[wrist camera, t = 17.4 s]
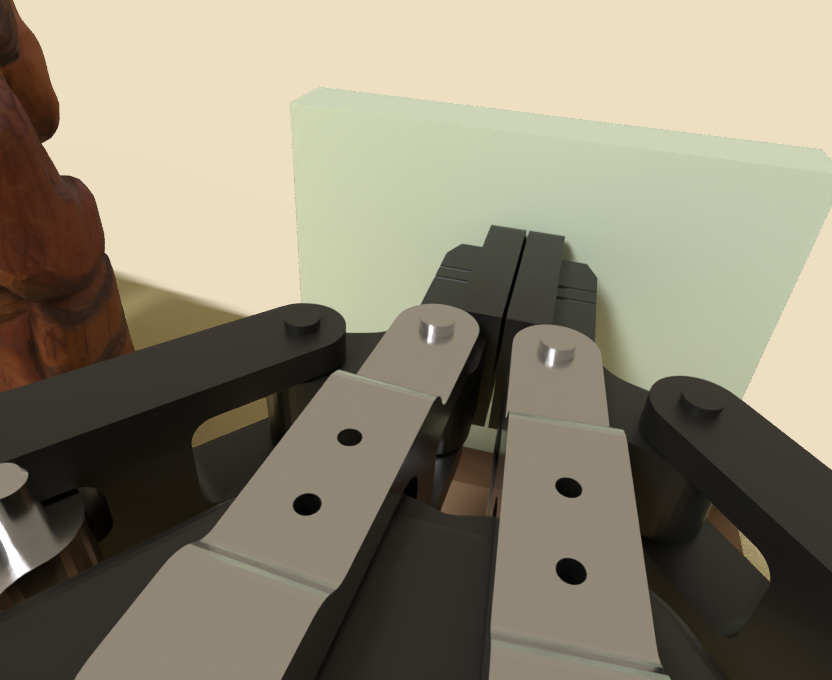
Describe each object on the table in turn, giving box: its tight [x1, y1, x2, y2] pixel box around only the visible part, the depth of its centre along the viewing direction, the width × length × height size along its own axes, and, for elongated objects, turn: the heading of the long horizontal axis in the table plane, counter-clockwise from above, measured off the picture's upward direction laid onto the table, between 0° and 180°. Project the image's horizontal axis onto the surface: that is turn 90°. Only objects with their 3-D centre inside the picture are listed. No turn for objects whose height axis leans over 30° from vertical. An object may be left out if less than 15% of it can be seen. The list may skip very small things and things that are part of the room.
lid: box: [290, 87, 832, 453], centre depth 19 cm, size 12×13×8 cm
